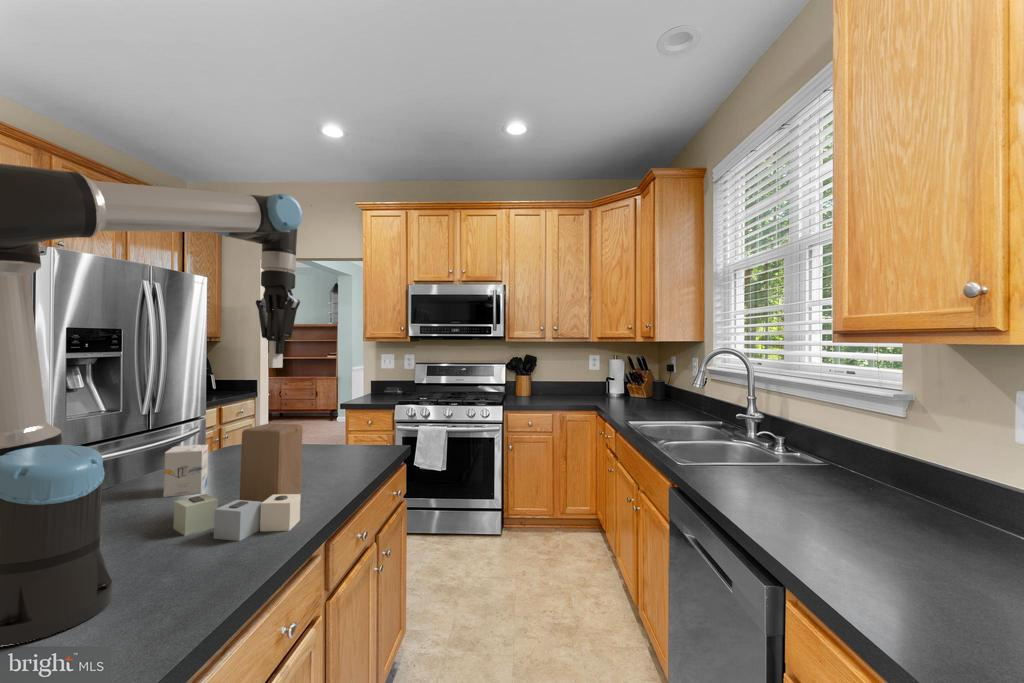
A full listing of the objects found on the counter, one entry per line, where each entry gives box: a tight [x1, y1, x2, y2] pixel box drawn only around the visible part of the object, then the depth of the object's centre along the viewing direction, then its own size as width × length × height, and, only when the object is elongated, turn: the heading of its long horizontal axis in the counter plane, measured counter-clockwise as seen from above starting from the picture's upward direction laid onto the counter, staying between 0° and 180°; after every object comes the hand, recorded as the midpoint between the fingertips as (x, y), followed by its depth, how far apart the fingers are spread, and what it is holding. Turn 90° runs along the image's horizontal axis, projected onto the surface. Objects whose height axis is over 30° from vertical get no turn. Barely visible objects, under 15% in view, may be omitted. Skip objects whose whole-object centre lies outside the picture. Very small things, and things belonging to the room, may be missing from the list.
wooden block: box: [239, 423, 304, 502], centre depth 108 cm, size 10×10×20 cm
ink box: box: [162, 443, 209, 498], centre depth 121 cm, size 9×8×12 cm
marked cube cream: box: [259, 493, 302, 532], centre depth 98 cm, size 6×6×6 cm
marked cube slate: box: [213, 499, 262, 542], centre depth 94 cm, size 6×6×6 cm
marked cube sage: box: [173, 493, 219, 537], centre depth 96 cm, size 6×6×6 cm
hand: (275, 367), depth 109 cm, fingers closed
